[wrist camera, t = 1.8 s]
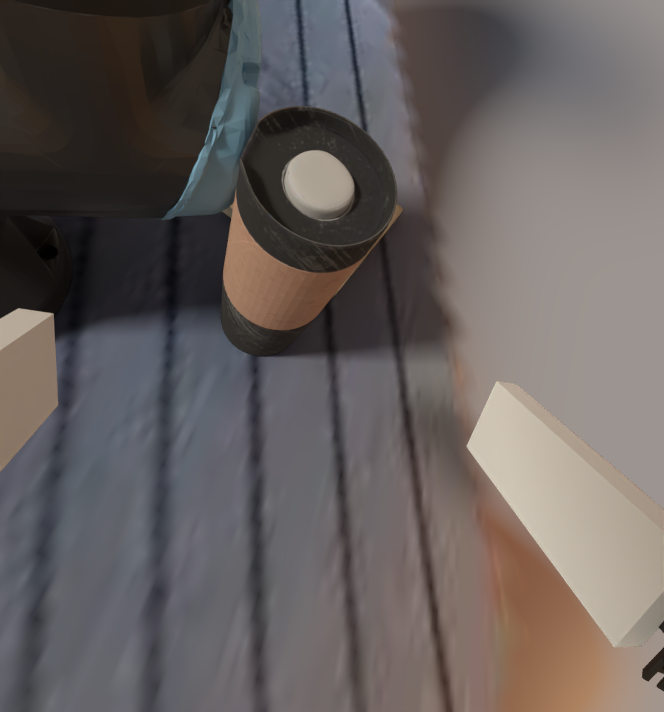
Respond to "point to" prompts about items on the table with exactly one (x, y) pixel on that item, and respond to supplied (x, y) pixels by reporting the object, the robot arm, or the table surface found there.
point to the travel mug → (299, 223)
